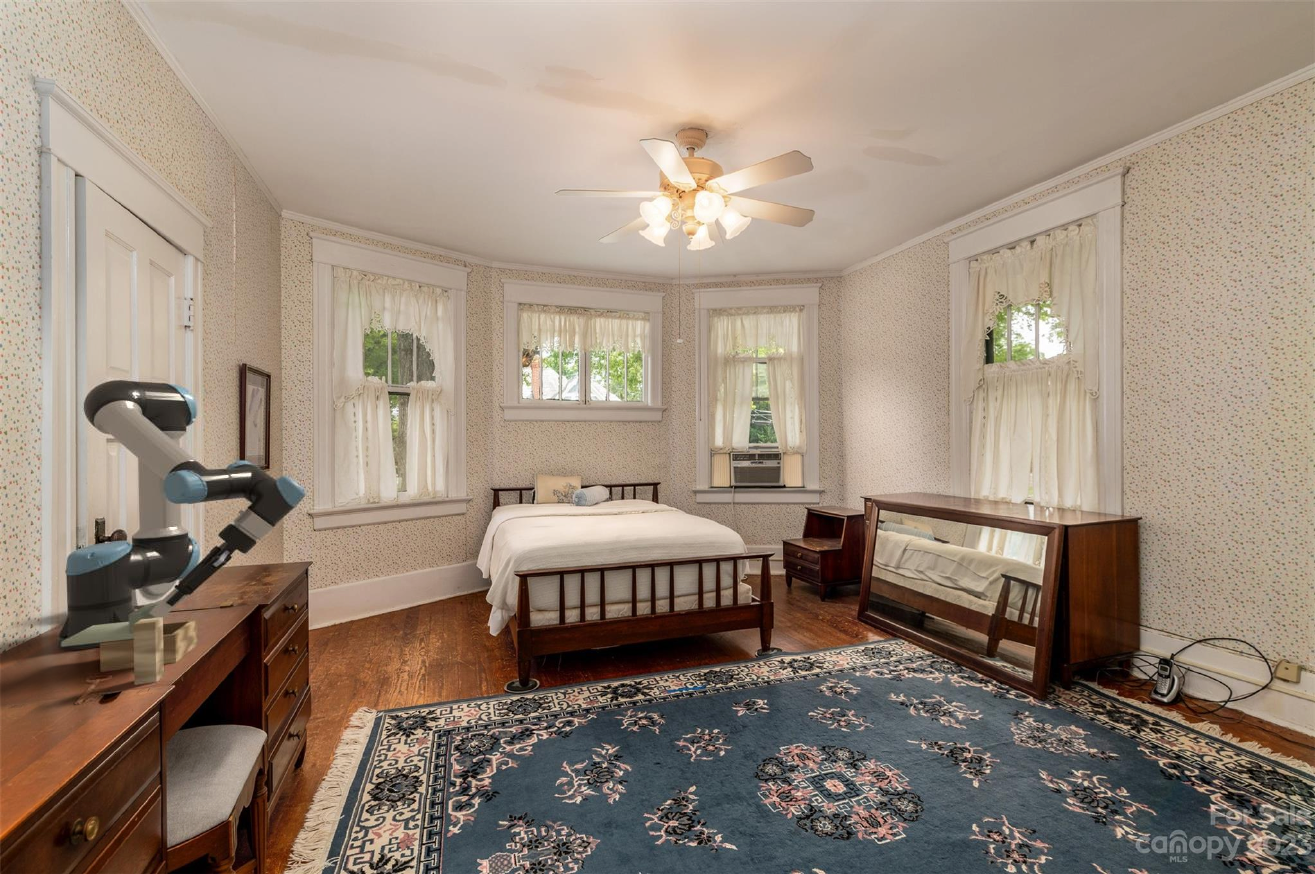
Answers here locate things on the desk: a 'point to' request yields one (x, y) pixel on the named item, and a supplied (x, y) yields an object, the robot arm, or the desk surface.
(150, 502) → the robot arm
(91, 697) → the key
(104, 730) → the desk surface
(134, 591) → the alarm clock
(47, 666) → the desk surface
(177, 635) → the light wooden box
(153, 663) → the block
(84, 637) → the lid
